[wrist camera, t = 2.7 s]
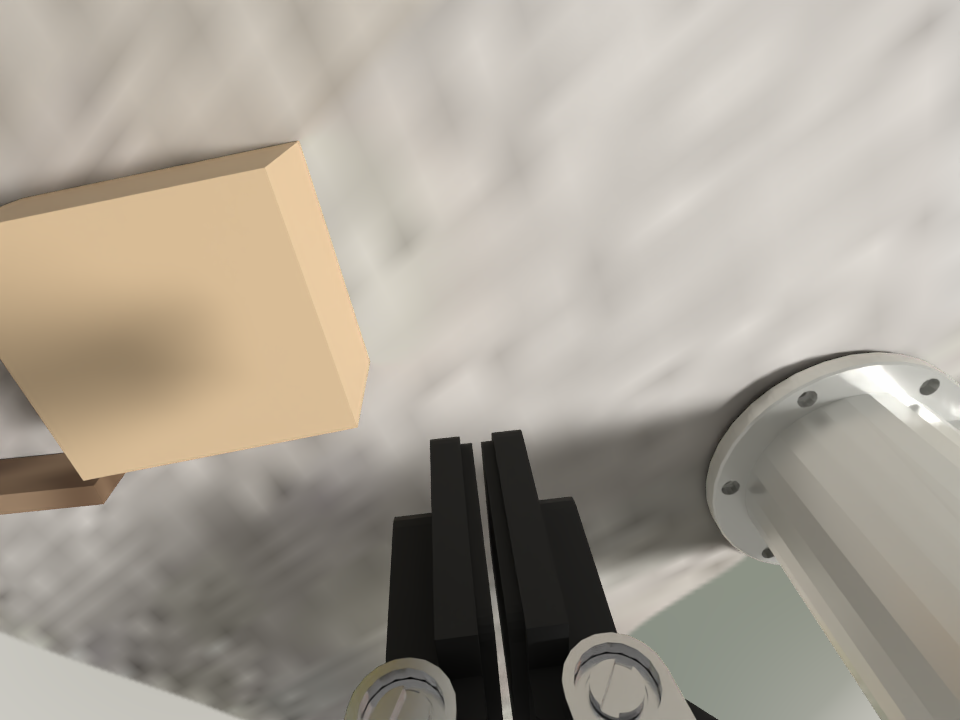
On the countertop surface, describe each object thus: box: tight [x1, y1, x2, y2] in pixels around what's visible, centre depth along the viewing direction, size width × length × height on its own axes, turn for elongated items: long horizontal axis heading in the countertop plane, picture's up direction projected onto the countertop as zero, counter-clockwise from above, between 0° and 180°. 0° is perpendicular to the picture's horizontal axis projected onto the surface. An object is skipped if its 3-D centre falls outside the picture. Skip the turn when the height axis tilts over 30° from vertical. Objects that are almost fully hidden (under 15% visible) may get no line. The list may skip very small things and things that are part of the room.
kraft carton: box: [0, 141, 370, 481], centre depth 21 cm, size 10×9×5 cm
